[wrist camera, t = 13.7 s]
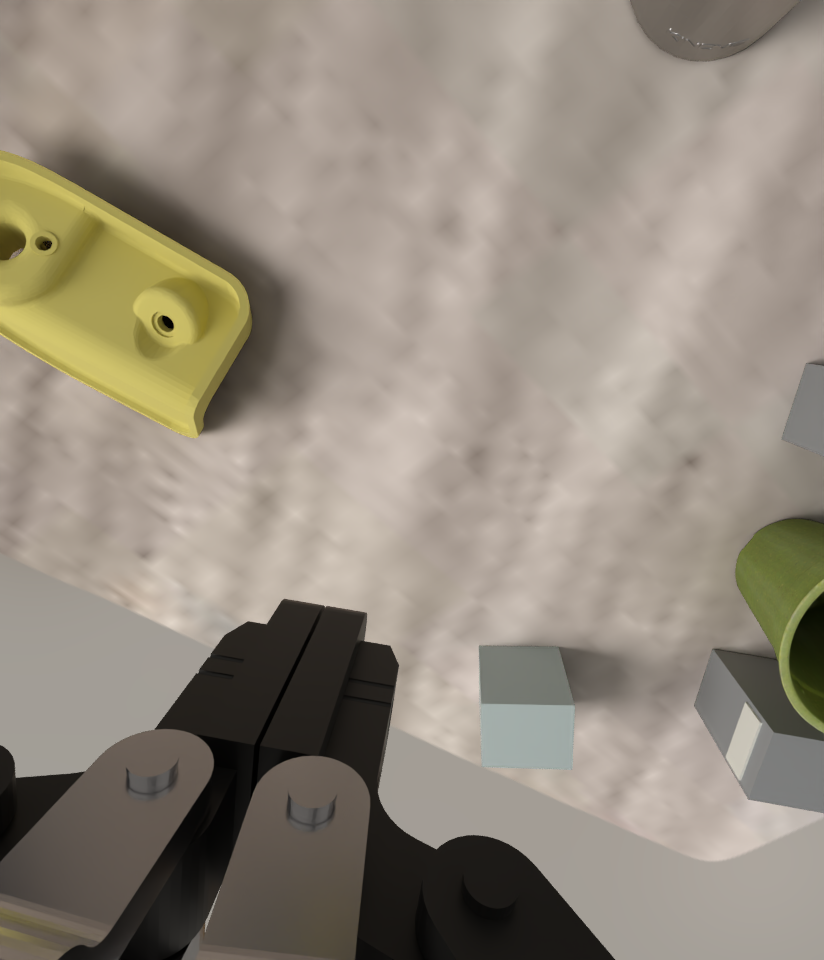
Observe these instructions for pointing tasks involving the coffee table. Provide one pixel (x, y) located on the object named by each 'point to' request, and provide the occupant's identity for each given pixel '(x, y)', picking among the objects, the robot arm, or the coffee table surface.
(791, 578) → the plant pot
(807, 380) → the block
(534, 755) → the block
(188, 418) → the plastic component
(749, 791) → the block
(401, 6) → the coffee table surface
